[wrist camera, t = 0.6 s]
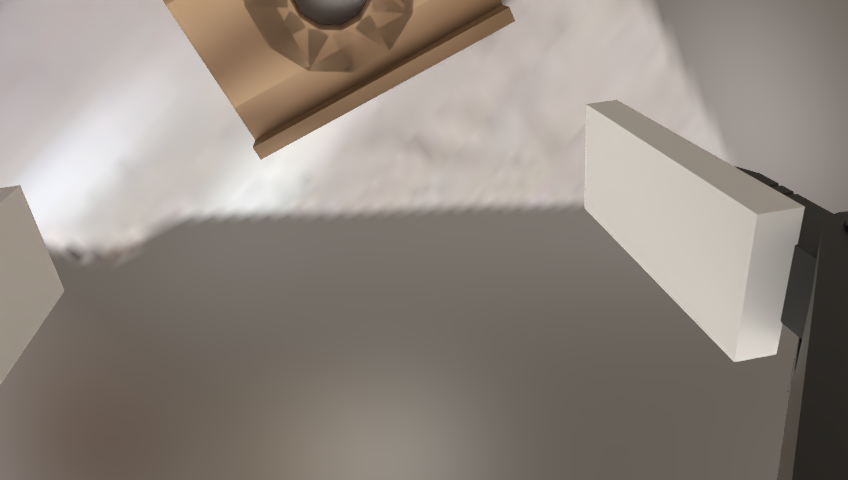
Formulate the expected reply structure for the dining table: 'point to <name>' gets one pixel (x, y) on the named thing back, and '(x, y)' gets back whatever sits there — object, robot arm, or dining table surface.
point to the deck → (323, 55)
